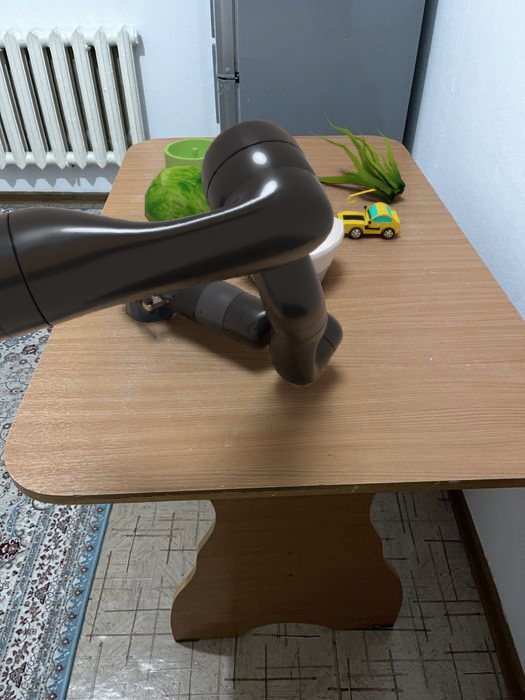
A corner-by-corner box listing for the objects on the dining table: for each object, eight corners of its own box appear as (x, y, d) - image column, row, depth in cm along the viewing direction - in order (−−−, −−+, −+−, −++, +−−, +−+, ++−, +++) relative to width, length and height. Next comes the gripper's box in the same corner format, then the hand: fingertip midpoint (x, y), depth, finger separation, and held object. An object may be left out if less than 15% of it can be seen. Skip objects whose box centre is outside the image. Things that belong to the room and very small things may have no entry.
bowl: (352, 264, 106) (358, 218, 100) (316, 313, 93) (320, 264, 87) (267, 244, 112) (267, 199, 106) (222, 287, 99) (220, 239, 93)
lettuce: (158, 218, 125) (226, 230, 126) (131, 246, 105) (212, 260, 105) (163, 149, 119) (235, 162, 119) (136, 165, 99) (222, 180, 99)
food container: (157, 181, 136) (151, 127, 128) (180, 159, 146) (175, 109, 138) (257, 193, 130) (257, 138, 122) (273, 170, 141) (274, 118, 133)
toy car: (392, 223, 119) (398, 185, 113) (398, 241, 113) (405, 202, 107) (335, 223, 119) (338, 185, 113) (338, 240, 113) (342, 201, 107)
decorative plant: (341, 158, 148) (346, 99, 139) (407, 202, 127) (419, 136, 117) (279, 168, 142) (280, 107, 133) (337, 216, 121) (343, 147, 112)
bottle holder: (120, 319, 92) (116, 299, 89) (135, 292, 98) (132, 272, 96) (169, 323, 91) (166, 302, 88) (181, 295, 97) (179, 275, 95)
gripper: (244, 263, 86) (164, 231, 94) (178, 305, 77) (96, 266, 85) (245, 304, 90) (169, 270, 98) (183, 348, 81) (105, 307, 90)
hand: (136, 268), depth 92 cm, fingers closed on pill bottle, 4 cm apart
